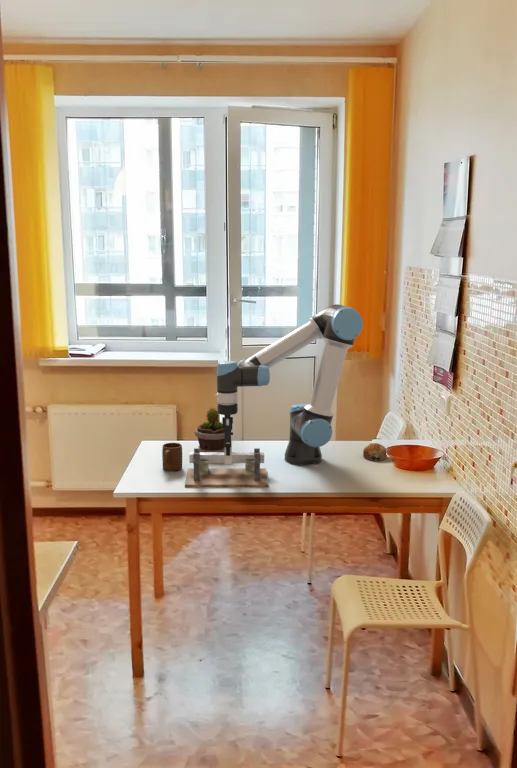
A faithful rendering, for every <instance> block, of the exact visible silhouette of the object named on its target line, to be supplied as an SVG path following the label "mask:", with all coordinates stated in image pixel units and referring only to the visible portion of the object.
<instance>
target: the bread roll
mask: <svg viewBox="0 0 517 768" xmlns="http://www.w3.org/2000/svg"><path fill="white" fill-rule="evenodd" d="M386 450H387V448H386V447H385V446H384V445H382V444H381V443H378V442H369V444H367V445H366V446H364V447H363V452H362V453H363V454H362V455H363V458H364V459H365V460H367V461H371V460H372V462H373V461H374V462H381V461H385V460H386V459H387V456H388V454H387V455H386ZM384 459H385V460H384ZM380 460H381V461H380Z"/></svg>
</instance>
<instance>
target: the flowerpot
mask: <svg viewBox="0 0 517 768" xmlns="http://www.w3.org/2000/svg"><path fill="white" fill-rule="evenodd" d="M204 414H205V413H204ZM205 417H206V420H205V421H204V422H202V423H201V424H199V425H198V426H197V427H196V429H195V430H194V436H195V437H197V441H198V446H197V448H200V452H224V447H223V445H224V444H225V438H224V430H223V423H222V421H221V420H220V414H218V412H217V409H216V408H215V406H213V407H209V409H208V410H207V411H206V414H205Z"/></svg>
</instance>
